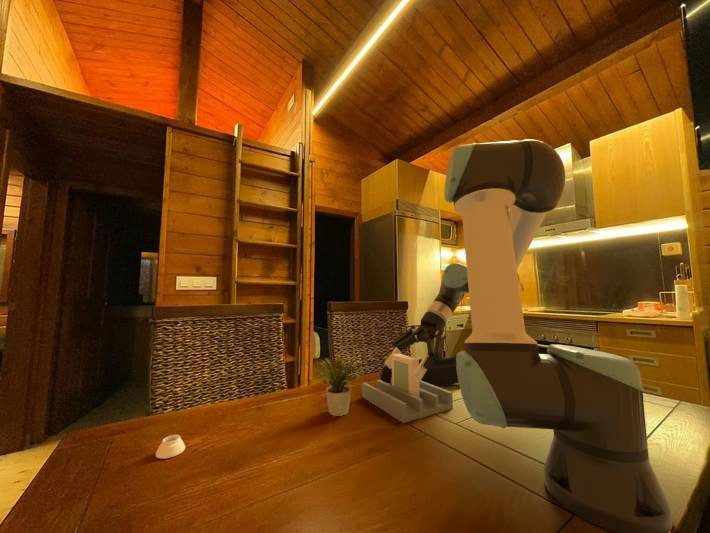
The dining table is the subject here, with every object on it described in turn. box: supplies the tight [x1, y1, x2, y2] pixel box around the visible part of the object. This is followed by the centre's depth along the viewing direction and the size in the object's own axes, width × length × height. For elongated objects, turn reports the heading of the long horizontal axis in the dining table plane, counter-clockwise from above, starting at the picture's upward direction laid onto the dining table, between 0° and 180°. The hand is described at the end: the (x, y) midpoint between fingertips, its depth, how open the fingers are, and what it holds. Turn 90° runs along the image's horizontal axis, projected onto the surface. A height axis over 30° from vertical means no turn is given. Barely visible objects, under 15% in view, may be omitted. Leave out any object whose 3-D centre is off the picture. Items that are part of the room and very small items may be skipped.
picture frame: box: [392, 353, 420, 398], centre depth 85 cm, size 3×9×12 cm, turn 30°
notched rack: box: [361, 378, 454, 424], centre depth 85 cm, size 18×20×4 cm
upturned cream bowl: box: [155, 434, 186, 459], centre depth 58 cm, size 5×3×5 cm
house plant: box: [318, 350, 366, 417], centre depth 77 cm, size 14×14×16 cm
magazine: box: [379, 354, 459, 387], centre depth 101 cm, size 17×3×30 cm
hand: (401, 371), depth 85 cm, fingers open, 13 cm apart
